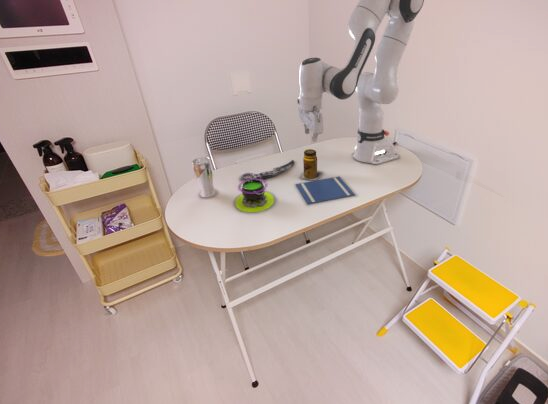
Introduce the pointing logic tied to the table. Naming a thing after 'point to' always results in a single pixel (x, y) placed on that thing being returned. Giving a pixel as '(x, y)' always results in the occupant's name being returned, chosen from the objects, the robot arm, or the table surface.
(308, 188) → the blue board
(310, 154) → the condiment
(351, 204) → the table surface
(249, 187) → the toy cauldron
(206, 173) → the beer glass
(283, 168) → the knife
